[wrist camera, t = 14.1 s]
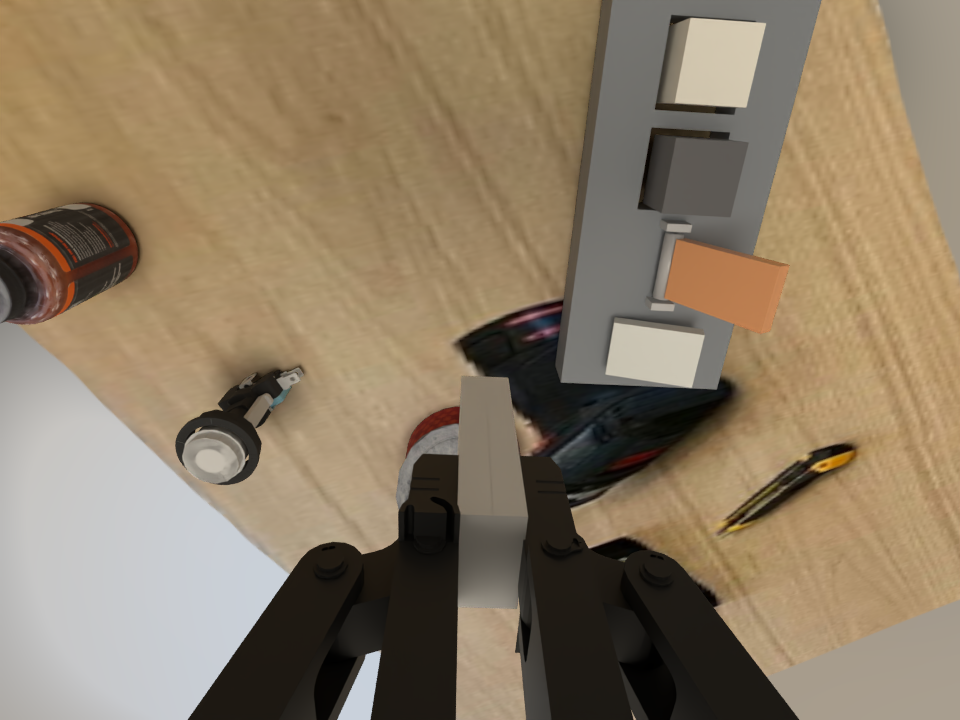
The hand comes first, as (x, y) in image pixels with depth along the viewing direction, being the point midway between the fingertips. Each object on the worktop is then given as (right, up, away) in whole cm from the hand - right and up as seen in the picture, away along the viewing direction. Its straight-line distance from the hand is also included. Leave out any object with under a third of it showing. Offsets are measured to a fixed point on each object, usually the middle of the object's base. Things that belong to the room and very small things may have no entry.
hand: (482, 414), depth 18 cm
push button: (-17, 0, +27) cm, 32 cm away
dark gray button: (+13, +14, +18) cm, 26 cm away
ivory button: (+13, +20, +17) cm, 29 cm away
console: (+13, +13, +21) cm, 28 cm away
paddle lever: (+13, +8, +19) cm, 24 cm away
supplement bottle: (-27, +10, +22) cm, 37 cm away
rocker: (+12, +2, +21) cm, 25 cm away
